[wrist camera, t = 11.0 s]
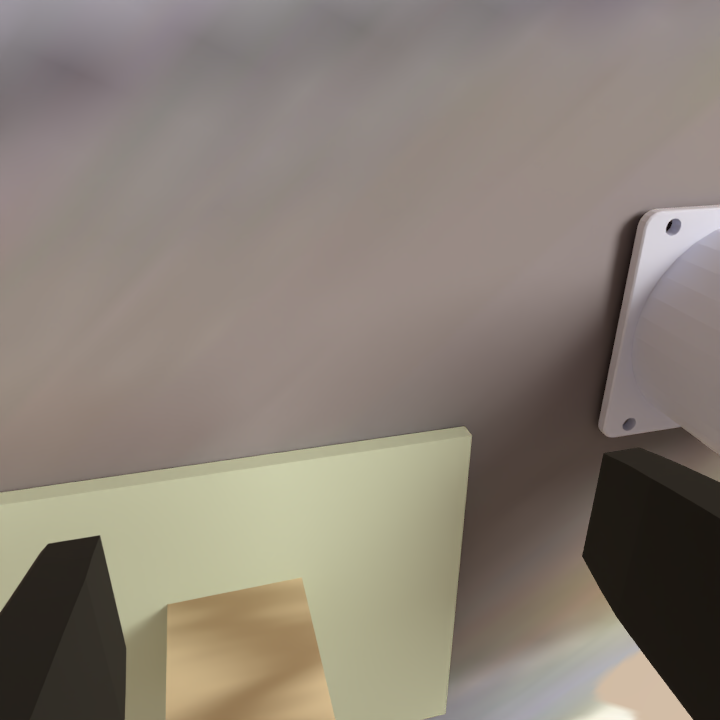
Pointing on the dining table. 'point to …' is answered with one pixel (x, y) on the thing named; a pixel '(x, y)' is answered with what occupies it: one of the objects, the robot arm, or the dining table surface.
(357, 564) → the felt mat
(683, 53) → the dining table surface
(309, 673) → the birch block
